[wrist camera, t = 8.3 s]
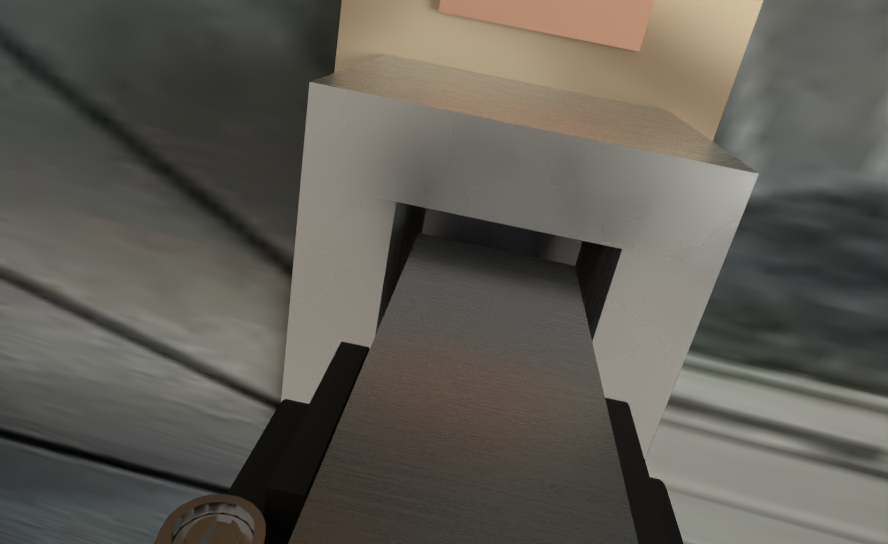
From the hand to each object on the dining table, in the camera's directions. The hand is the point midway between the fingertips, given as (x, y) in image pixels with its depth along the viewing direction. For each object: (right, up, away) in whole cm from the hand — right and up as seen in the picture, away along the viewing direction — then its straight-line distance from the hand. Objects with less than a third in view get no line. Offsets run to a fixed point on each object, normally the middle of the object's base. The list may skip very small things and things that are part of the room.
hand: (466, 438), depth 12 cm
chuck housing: (+2, +5, +13) cm, 14 cm away
